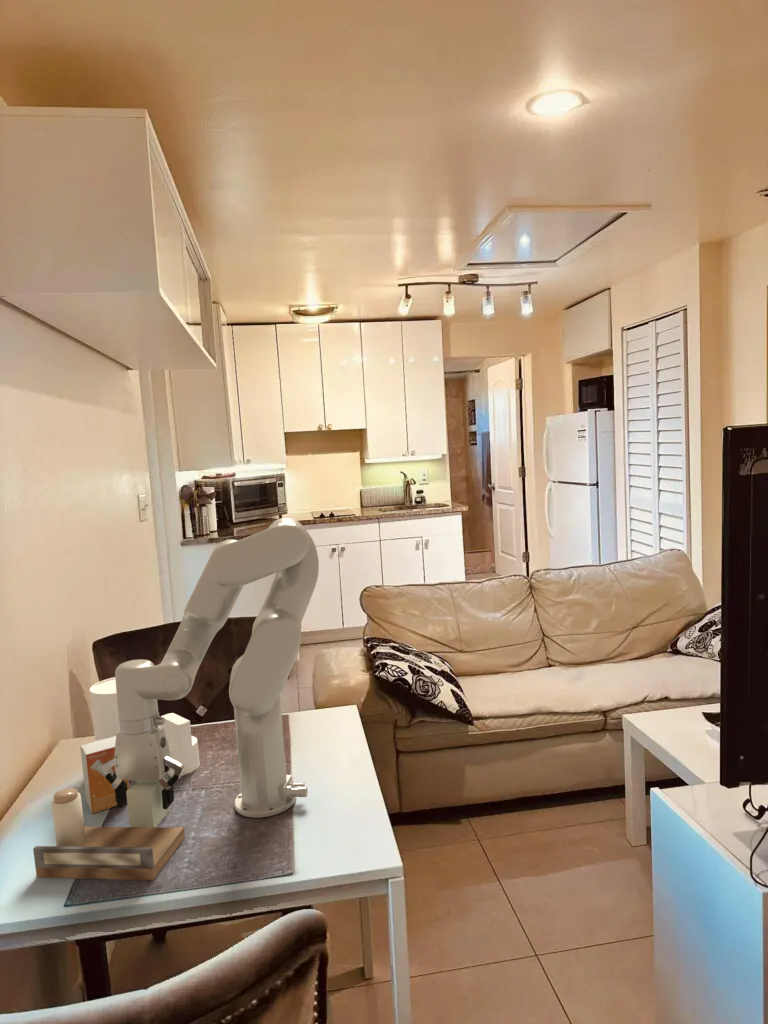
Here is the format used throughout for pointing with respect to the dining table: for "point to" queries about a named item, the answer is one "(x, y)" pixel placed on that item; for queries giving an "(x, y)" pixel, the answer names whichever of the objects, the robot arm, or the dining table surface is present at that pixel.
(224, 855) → the dining table surface
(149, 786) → the carton
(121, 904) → the dining table surface
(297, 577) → the robot arm
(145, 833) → the shelf
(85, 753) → the small box
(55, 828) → the jar
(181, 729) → the base with upright slab
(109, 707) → the canister
